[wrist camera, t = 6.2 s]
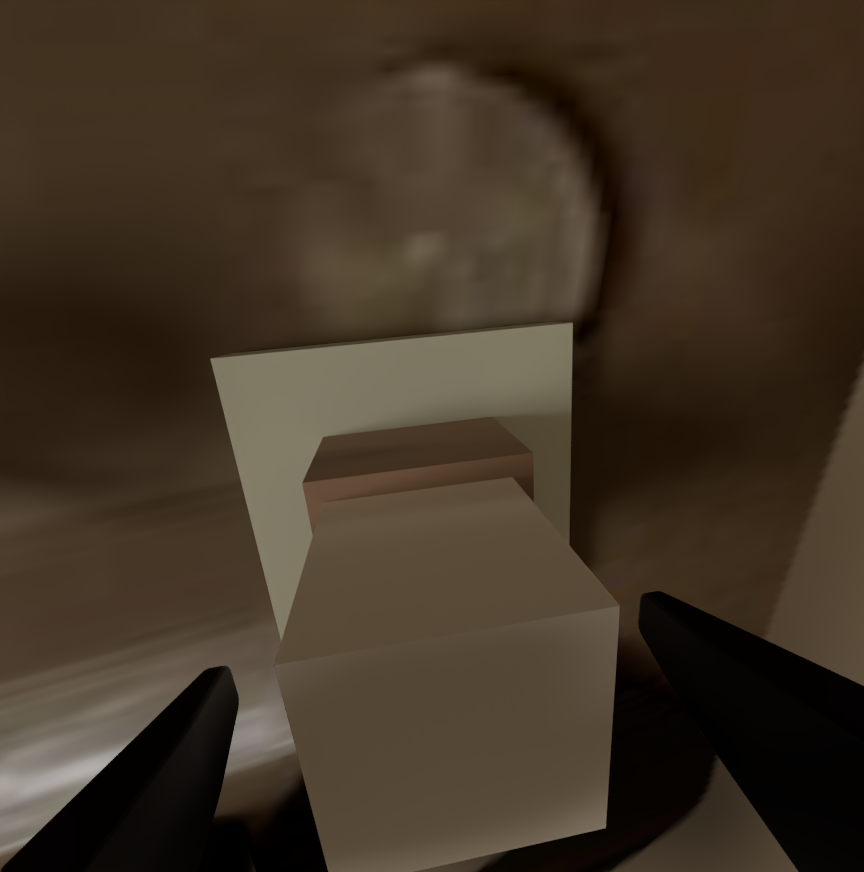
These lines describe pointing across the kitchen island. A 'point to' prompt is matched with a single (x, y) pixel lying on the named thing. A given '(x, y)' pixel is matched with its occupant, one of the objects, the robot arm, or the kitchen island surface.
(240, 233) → the kitchen island surface
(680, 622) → the robot arm
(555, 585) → the ceramic cube
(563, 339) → the base board
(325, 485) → the walnut block
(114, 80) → the kitchen island surface
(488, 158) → the kitchen island surface
